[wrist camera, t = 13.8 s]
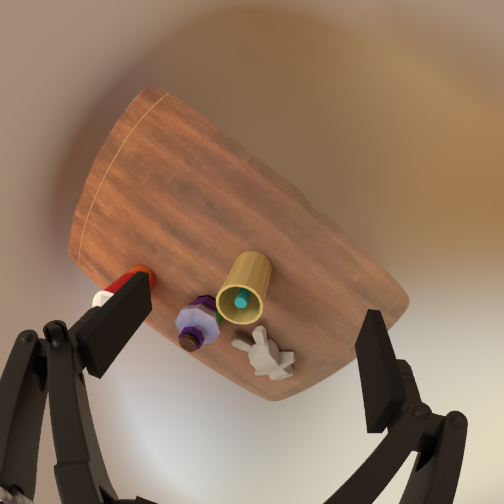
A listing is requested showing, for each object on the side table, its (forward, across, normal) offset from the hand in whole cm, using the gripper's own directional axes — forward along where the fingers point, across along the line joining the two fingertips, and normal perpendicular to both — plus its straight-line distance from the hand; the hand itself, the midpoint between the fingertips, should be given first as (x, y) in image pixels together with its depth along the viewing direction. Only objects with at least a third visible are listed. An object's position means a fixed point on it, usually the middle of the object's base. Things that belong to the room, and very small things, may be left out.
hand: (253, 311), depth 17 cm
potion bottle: (+33, -12, -24) cm, 42 cm away
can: (+32, -4, -14) cm, 36 cm away
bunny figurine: (+33, +1, -32) cm, 46 cm away
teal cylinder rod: (+32, -4, -14) cm, 35 cm away
